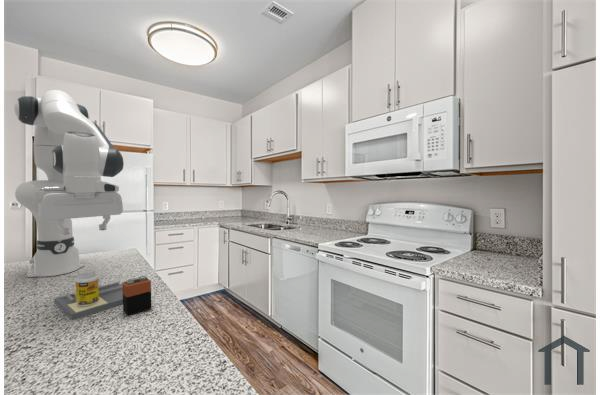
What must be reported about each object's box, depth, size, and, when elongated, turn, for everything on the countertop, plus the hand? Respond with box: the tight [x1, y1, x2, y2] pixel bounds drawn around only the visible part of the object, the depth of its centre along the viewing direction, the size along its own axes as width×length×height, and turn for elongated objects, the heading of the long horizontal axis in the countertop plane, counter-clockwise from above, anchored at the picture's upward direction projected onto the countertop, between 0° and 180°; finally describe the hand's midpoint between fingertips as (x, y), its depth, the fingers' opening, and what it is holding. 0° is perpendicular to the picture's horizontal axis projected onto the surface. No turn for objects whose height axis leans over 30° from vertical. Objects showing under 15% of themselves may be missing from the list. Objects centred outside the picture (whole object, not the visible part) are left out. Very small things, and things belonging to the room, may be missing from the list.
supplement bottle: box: [75, 268, 100, 307], centre depth 87 cm, size 6×6×10 cm
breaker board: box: [54, 281, 123, 321], centre depth 93 cm, size 18×18×3 cm
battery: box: [121, 275, 152, 316], centre depth 86 cm, size 4×7×10 cm, turn 137°
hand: (84, 232), depth 85 cm, fingers open, 8 cm apart
